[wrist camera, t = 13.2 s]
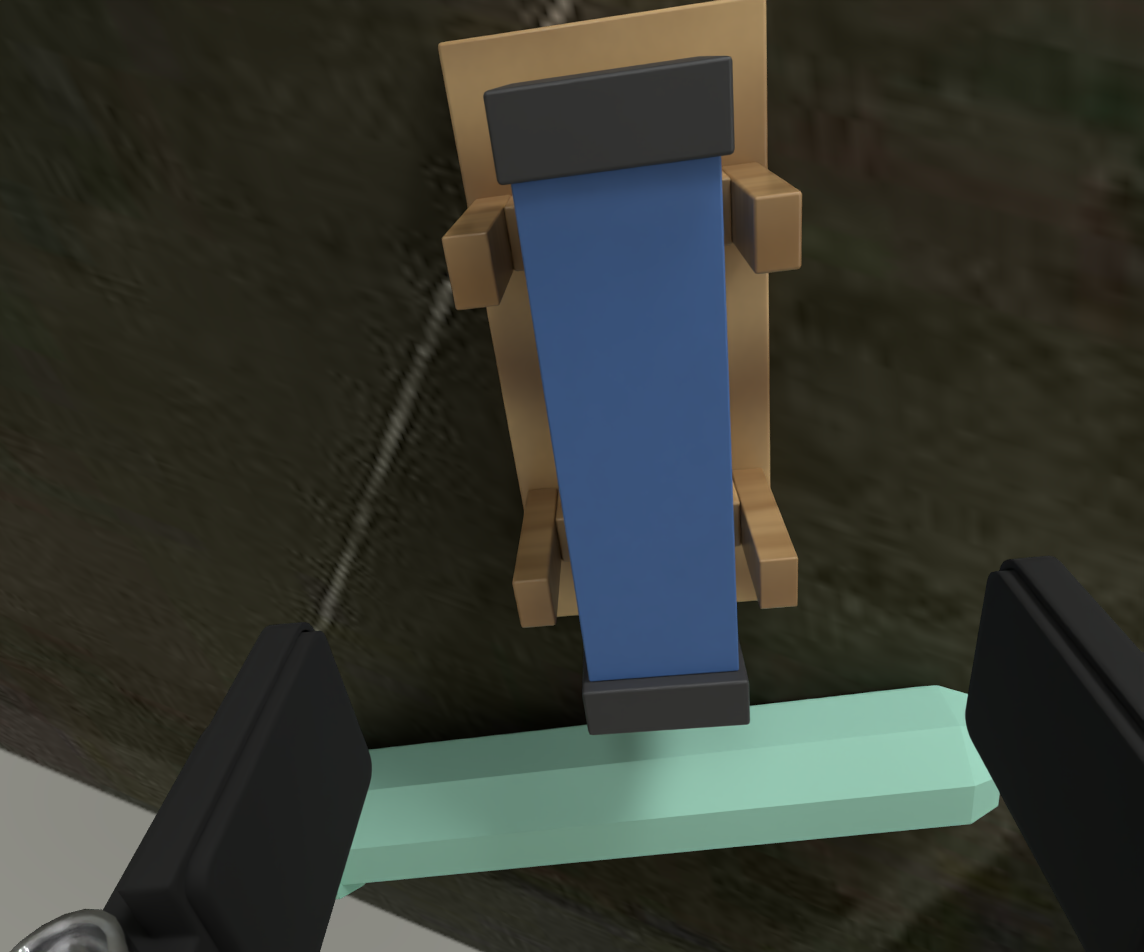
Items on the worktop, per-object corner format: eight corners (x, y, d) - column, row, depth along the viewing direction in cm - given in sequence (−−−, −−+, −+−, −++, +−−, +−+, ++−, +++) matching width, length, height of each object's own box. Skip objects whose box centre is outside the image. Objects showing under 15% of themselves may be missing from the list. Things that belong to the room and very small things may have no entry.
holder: (443, 43, 20) (386, 38, 14) (759, -5, 19) (820, -29, 14) (545, 601, 28) (532, 726, 23) (766, 583, 27) (805, 707, 22)
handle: (508, 84, 17) (481, 91, 14) (703, 55, 17) (733, 55, 13) (590, 631, 25) (588, 736, 21) (727, 621, 25) (750, 725, 21)
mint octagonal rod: (1053, 808, 24) (282, 884, 26) (1001, 854, 28) (349, 915, 31) (978, 634, 27) (310, 714, 30) (944, 700, 32) (367, 765, 34)
